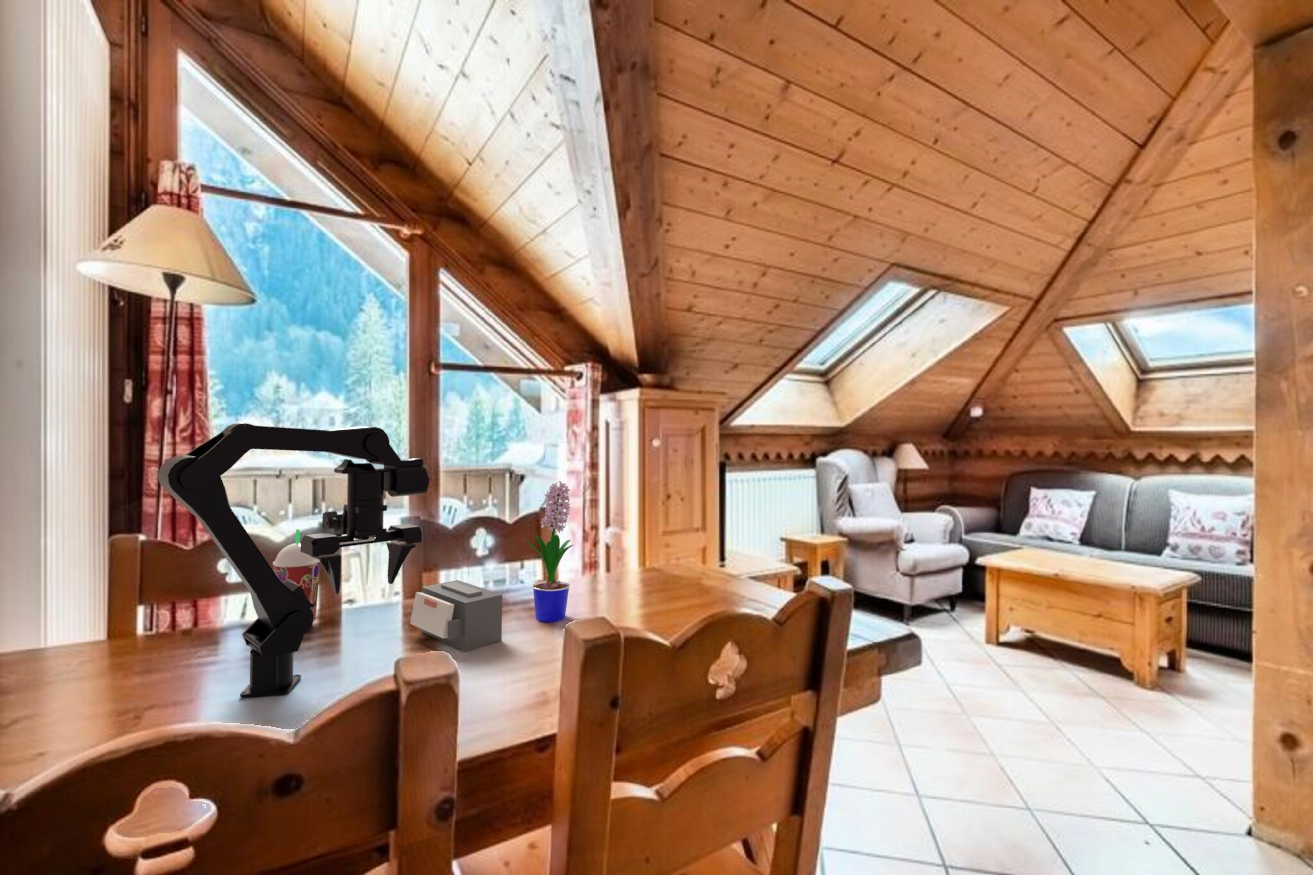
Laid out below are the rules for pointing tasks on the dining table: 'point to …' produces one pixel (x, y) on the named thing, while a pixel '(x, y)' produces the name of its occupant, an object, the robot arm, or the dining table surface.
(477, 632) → the box
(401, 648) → the dining table surface
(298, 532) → the smoothie
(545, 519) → the hyacinth
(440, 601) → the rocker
